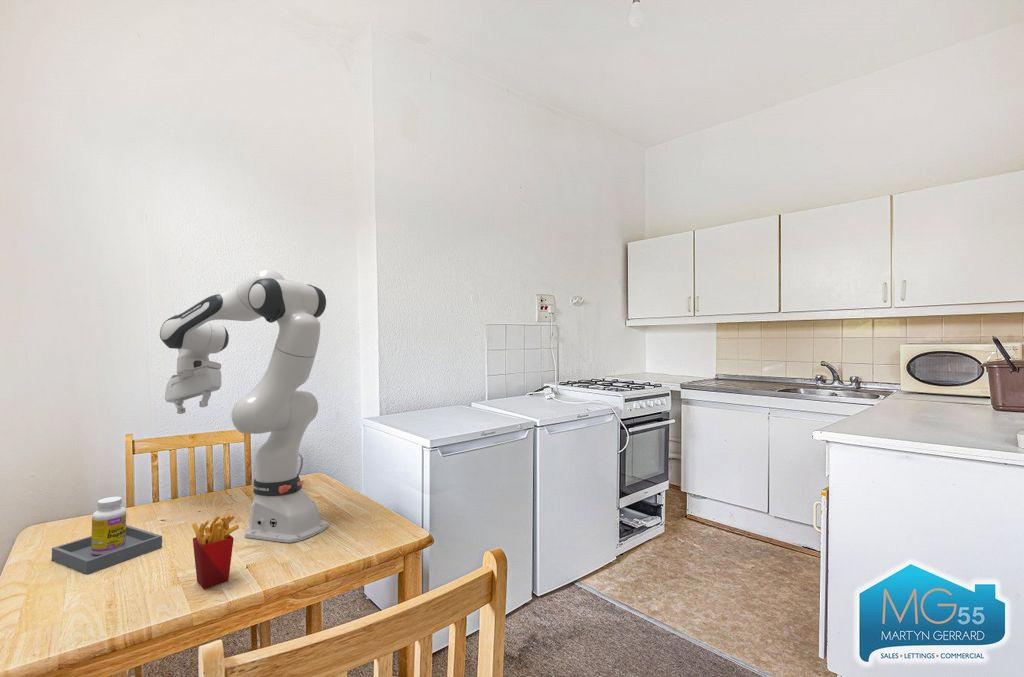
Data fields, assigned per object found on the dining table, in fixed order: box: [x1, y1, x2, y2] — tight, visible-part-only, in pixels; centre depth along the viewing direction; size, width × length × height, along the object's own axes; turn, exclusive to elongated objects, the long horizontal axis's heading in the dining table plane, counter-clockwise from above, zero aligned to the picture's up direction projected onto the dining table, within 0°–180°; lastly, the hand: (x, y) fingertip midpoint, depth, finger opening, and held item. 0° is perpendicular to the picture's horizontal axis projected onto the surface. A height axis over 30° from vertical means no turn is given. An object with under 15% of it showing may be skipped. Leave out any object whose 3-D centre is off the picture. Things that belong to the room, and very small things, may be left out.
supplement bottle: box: [91, 496, 127, 555], centre depth 121 cm, size 7×7×13 cm
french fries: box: [191, 514, 240, 590], centre depth 107 cm, size 9×8×15 cm
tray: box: [51, 524, 163, 575], centre depth 121 cm, size 16×16×3 cm
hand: (192, 410), depth 152 cm, fingers open, 8 cm apart
